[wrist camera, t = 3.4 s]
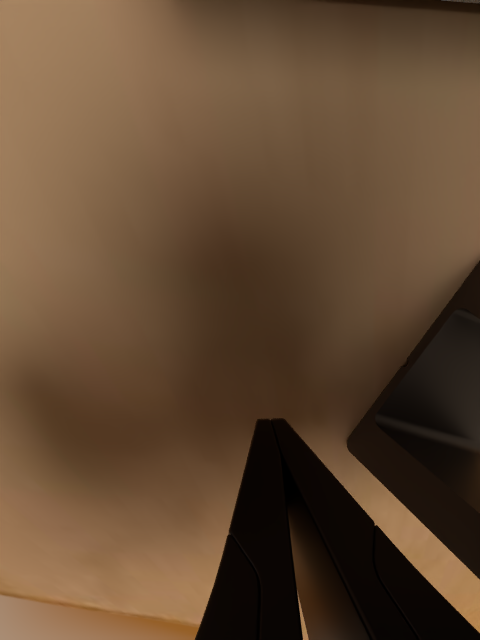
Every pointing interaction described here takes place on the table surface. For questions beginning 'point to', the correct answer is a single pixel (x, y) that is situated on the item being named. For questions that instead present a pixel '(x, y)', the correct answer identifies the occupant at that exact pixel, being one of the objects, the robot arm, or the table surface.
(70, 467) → the table surface
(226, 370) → the table surface
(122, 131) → the table surface
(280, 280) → the table surface
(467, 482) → the phone stand
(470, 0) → the grey flat bar
